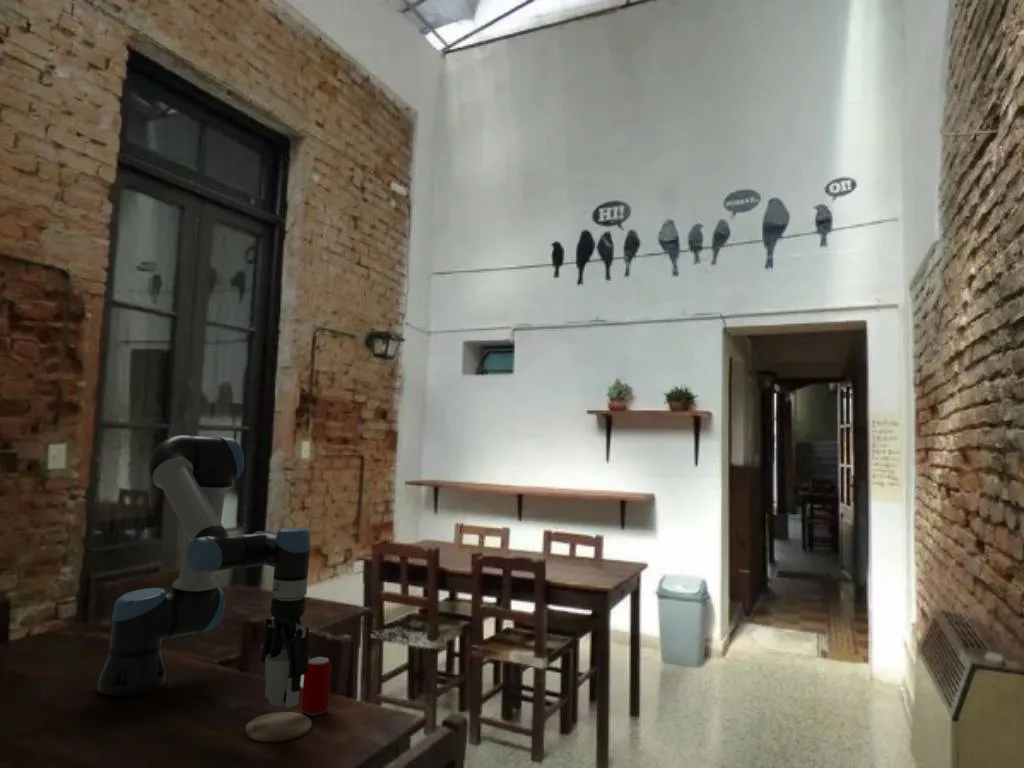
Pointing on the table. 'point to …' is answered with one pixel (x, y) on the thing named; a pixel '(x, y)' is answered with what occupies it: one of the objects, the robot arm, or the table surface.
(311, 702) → the beverage can
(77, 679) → the table surface
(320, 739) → the table surface
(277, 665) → the cup
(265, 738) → the plate
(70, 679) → the table surface
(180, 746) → the table surface
